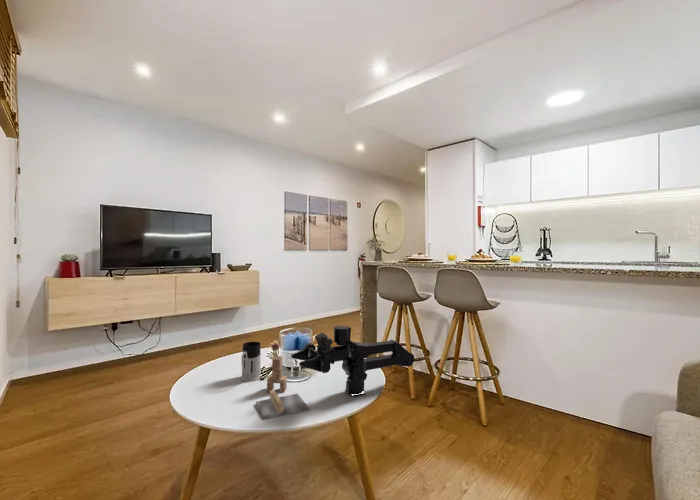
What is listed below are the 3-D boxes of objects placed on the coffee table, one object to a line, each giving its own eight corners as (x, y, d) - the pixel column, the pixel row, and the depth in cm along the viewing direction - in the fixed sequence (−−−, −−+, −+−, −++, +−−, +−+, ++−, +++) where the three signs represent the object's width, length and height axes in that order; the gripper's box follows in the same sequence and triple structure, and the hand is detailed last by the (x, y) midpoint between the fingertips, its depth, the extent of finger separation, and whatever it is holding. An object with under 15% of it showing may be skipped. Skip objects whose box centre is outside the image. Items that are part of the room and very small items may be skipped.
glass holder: (264, 374, 149) (264, 341, 149) (251, 387, 135) (252, 351, 135) (245, 373, 150) (246, 340, 150) (231, 386, 136) (232, 350, 136)
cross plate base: (297, 396, 128) (297, 385, 128) (308, 409, 117) (308, 398, 117) (255, 404, 120) (255, 393, 120) (263, 419, 110) (263, 407, 110)
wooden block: (286, 388, 135) (287, 356, 135) (284, 392, 131) (284, 359, 131) (269, 387, 135) (270, 356, 135) (266, 391, 131) (267, 359, 131)
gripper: (324, 328, 136) (288, 332, 129) (345, 339, 119) (304, 344, 112) (324, 355, 136) (287, 360, 129) (344, 370, 119) (303, 377, 112)
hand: (295, 360), depth 120 cm, fingers open, 9 cm apart
